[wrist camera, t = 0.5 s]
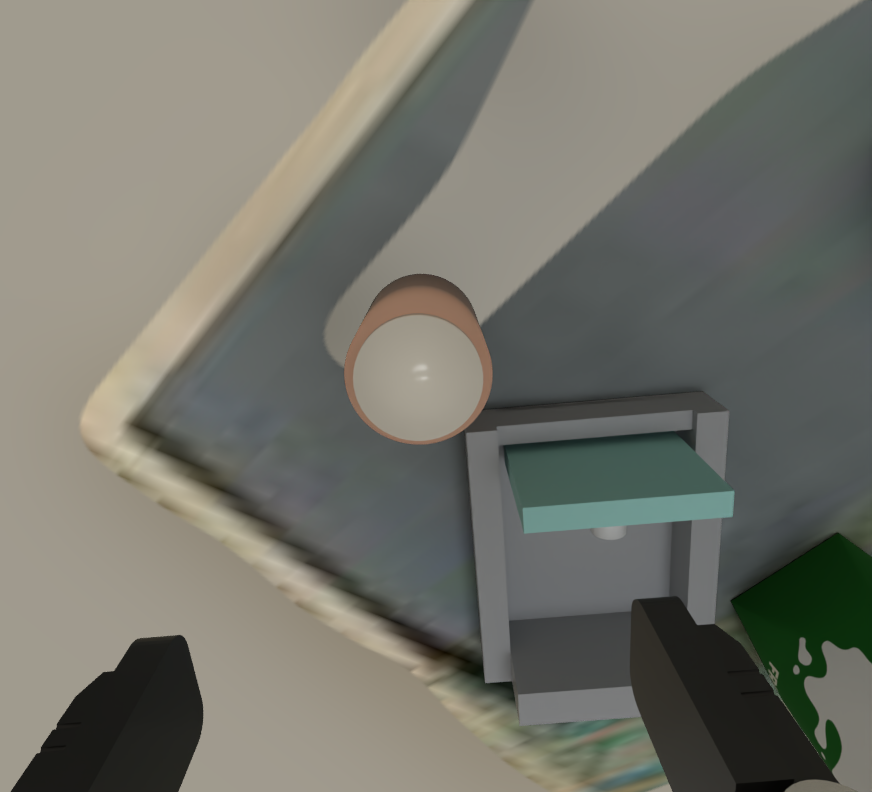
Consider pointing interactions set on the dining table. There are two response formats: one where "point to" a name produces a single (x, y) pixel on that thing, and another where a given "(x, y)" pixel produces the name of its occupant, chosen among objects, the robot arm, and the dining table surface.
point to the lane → (582, 560)
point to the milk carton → (821, 650)
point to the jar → (419, 362)
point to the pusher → (613, 483)
